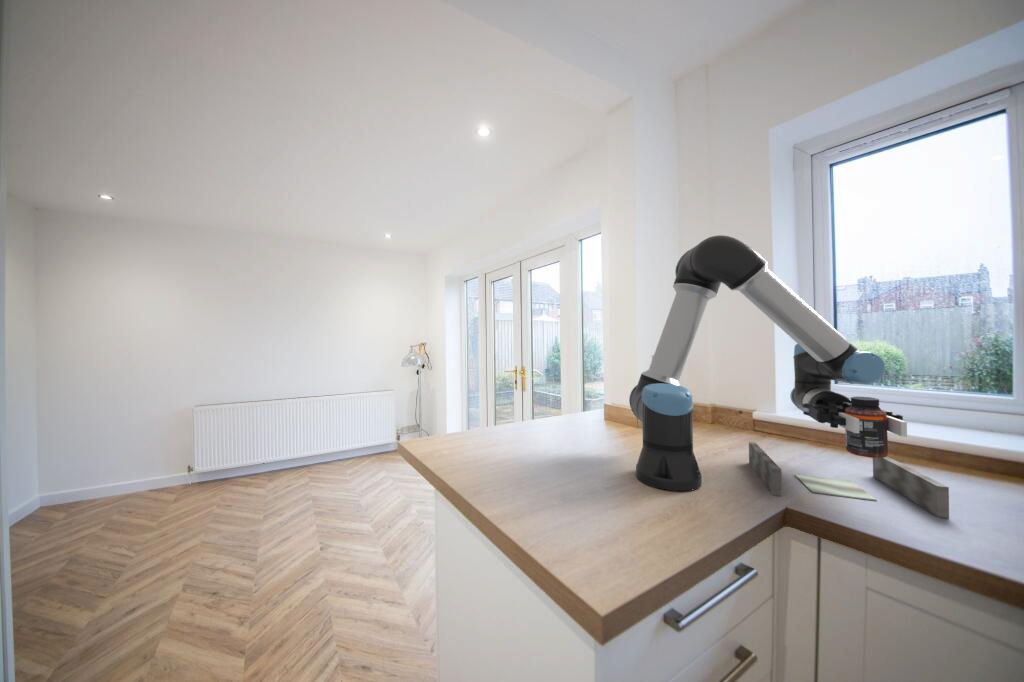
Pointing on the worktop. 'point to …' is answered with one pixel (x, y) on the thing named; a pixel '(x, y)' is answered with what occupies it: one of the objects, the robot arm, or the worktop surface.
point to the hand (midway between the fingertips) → (879, 427)
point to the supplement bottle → (867, 428)
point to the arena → (884, 469)
